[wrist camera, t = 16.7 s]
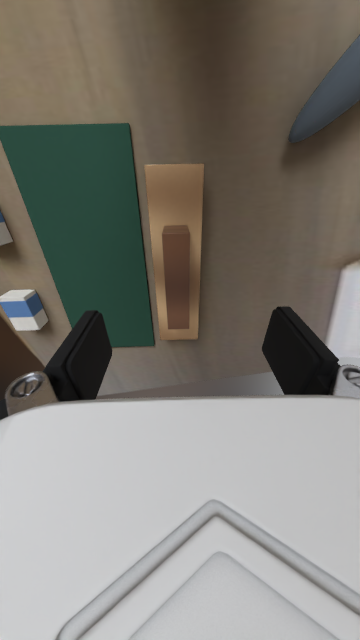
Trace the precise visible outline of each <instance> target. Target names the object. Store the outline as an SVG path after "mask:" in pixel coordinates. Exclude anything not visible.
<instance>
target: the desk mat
mask: <svg viewBox="0 0 360 640" xmlns="http://www.w3.org/2000/svg"><path fill="white" fill-rule="evenodd" d="M0 140H1V142H2V145H3V148H4V150H5V153H6V156H7V158H8V161H9V164H10V166H11V169H12V171H13V174H14V177H15V179H16V182H17V185H18V187H19V190H20V193H21V195H22V198H23V200H24V203H25V206H26V208H27V211H28V214H29V216H30V219H31V222H32V224H33V227H34V229H35V232H36V235H37V237H38V240H39V243H40V245H41V248H42V251H43V253H44V256H45V259H46V261H47V264H48V266H49V269H50V272H51V274H52V277H53V280H54V282H55V285H56V288H57V290H58V293H59V295H60V298H61V301H62V303H63V306H64V309H65V311H66V314H67V317H68V319H69V322H70V324H71V327H72V329H73V327H74V326H75V325H76V323H77V322H78V320H79V319H80V318H81V316H82V315H83V313H84V312H85V311H86V310H97V311H98V312H99V313H102V315H103V319H104V322H105V326H106V330H107V333H108V337H109V341H110V344H111V347H132V346H154V336H153V327H152V318H151V309H150V301H149V292H148V283H147V274H146V265H145V257H144V248H143V239H142V230H141V221H140V212H139V204H138V195H137V186H136V177H135V168H134V160H133V151H132V142H131V133H130V125H129V123H121V124H74V125H27V126H0Z"/></svg>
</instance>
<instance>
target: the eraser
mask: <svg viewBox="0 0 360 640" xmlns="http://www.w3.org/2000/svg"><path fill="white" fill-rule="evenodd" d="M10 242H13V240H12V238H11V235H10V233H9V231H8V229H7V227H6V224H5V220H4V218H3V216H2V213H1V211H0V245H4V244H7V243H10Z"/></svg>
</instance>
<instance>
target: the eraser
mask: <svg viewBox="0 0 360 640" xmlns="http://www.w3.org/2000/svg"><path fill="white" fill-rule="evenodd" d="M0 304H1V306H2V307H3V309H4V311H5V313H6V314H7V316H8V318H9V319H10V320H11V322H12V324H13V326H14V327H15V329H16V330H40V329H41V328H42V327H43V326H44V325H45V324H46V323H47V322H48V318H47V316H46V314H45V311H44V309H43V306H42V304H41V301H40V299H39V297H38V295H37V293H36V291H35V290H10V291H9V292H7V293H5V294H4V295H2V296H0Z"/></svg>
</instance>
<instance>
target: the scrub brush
mask: <svg viewBox="0 0 360 640" xmlns="http://www.w3.org/2000/svg"><path fill="white" fill-rule="evenodd" d="M144 169H145V179H146V190H147V201H148V212H149V223H150V233H151V244H152V255H153V266H154V277H155V288H156V298H157V309H158V320H159V331H160V340H180V339H198V319H199V291H200V264H201V236H202V208H203V180H204V164H162V165H144Z"/></svg>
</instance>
